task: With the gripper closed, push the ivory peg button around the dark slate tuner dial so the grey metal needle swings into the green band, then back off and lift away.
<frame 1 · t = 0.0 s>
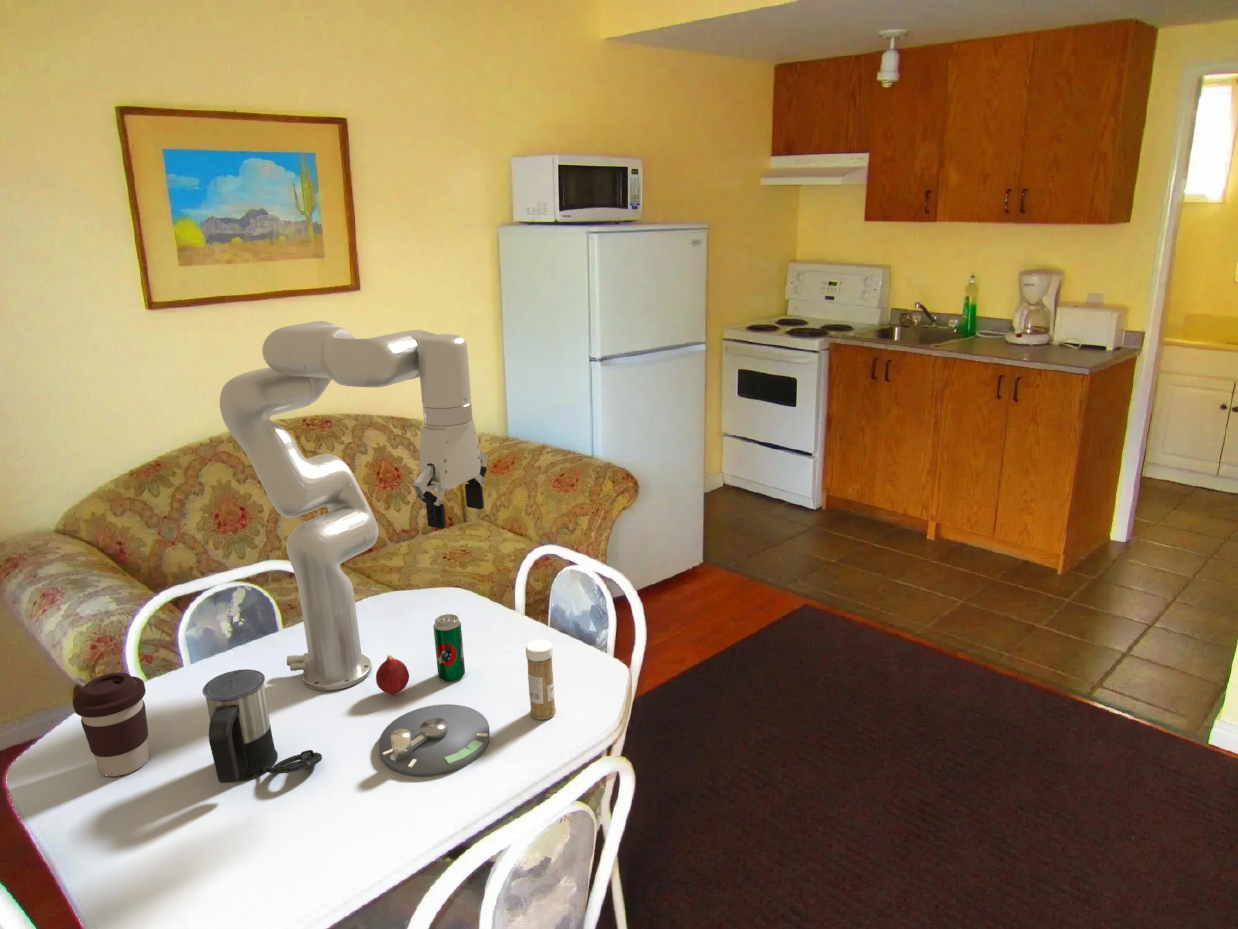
hand: (456, 517, 140), 37 cm above the table, tool pointing down, fingers open, 9 cm apart
needle: (418, 732, 140), point 4 cm above the table, hinge at -40.0°
onion: (394, 695, 159), on the table
dial: (435, 742, 144), on the table
coffee cup: (125, 765, 141), on the table
spice jar: (542, 714, 152), on the table
milk frother: (270, 768, 139), on the table
soda can: (451, 677, 164), on the table
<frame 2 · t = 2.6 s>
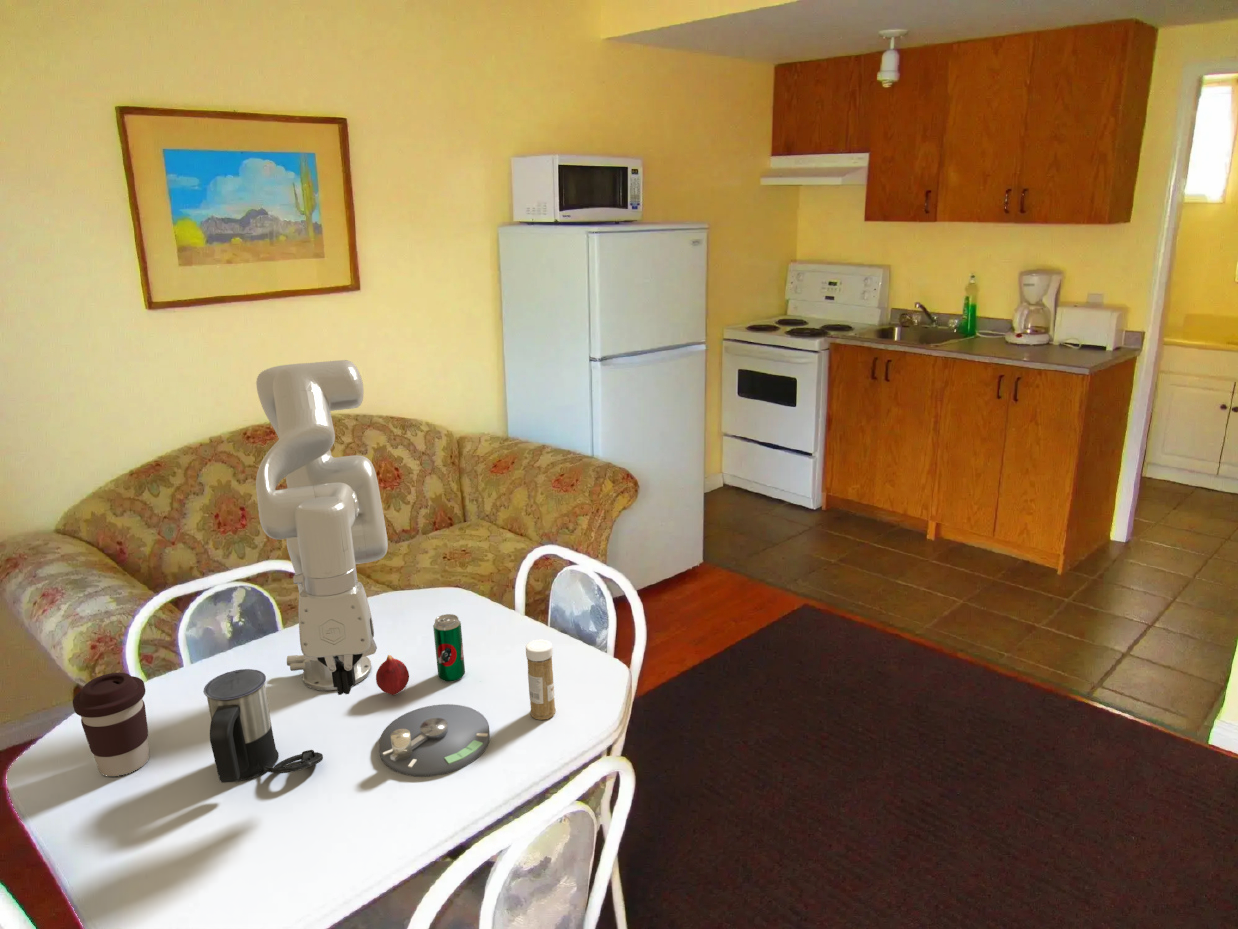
hand: (345, 689, 133), 15 cm above the table, tool pointing down, fingers closed
nothing on the table moved.
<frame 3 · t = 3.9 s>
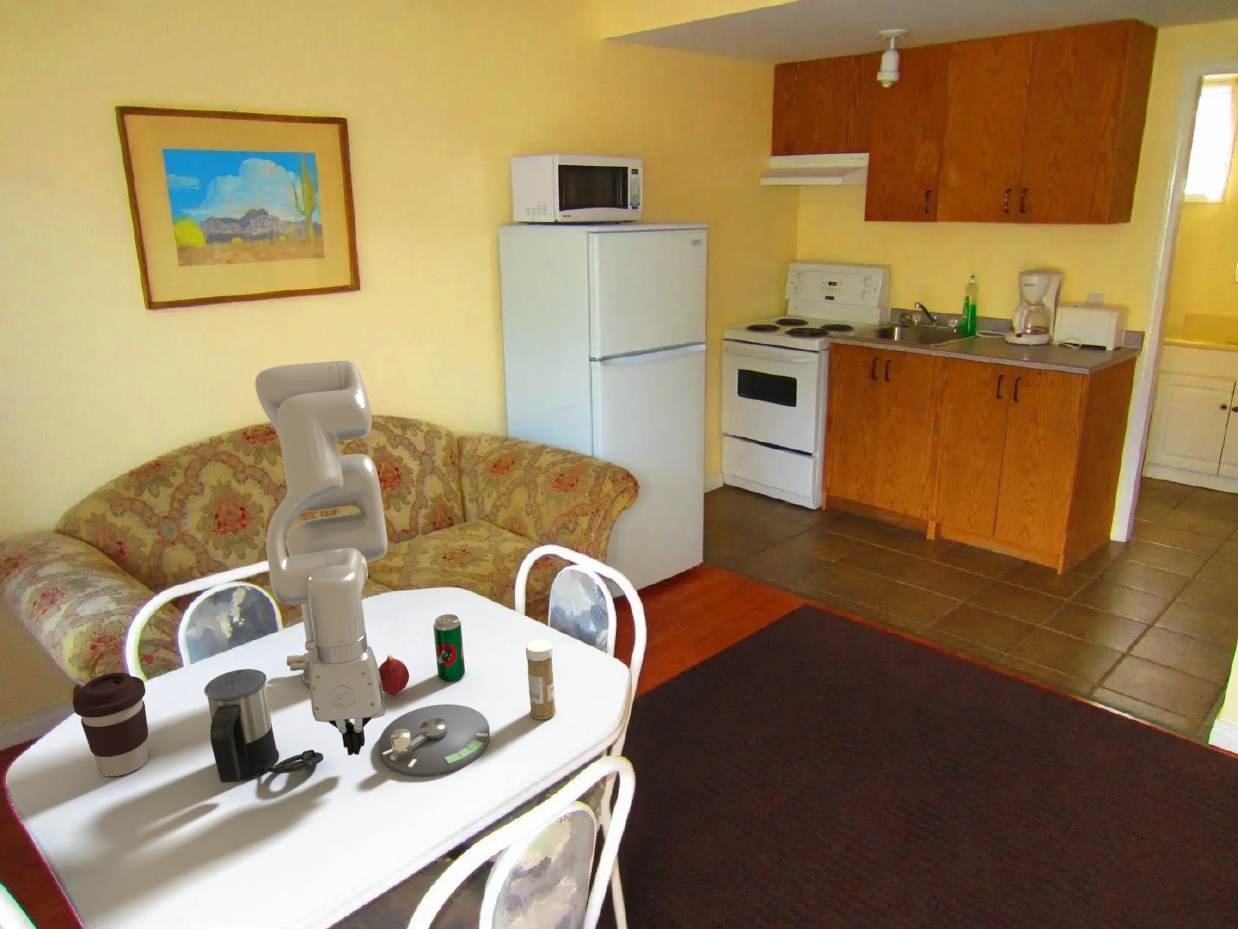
hand: (355, 749, 137), 4 cm above the table, tool pointing down, fingers closed
nothing on the table moved.
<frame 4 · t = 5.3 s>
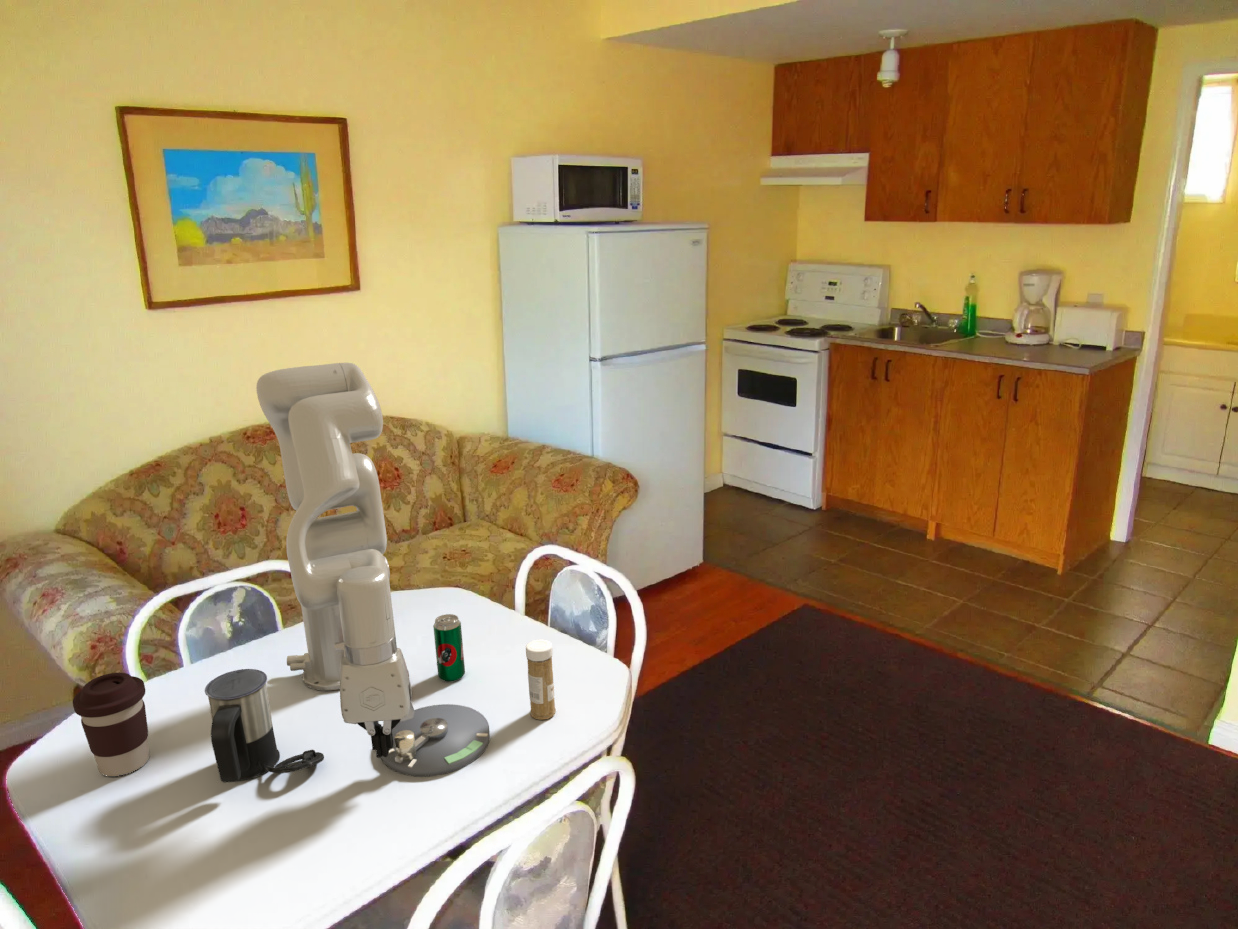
hand: (383, 752, 136), 4 cm above the table, tool pointing down, fingers closed
needle: (420, 733, 140), point 4 cm above the table, hinge at -33.2°, touching gripper
everything else where it was.
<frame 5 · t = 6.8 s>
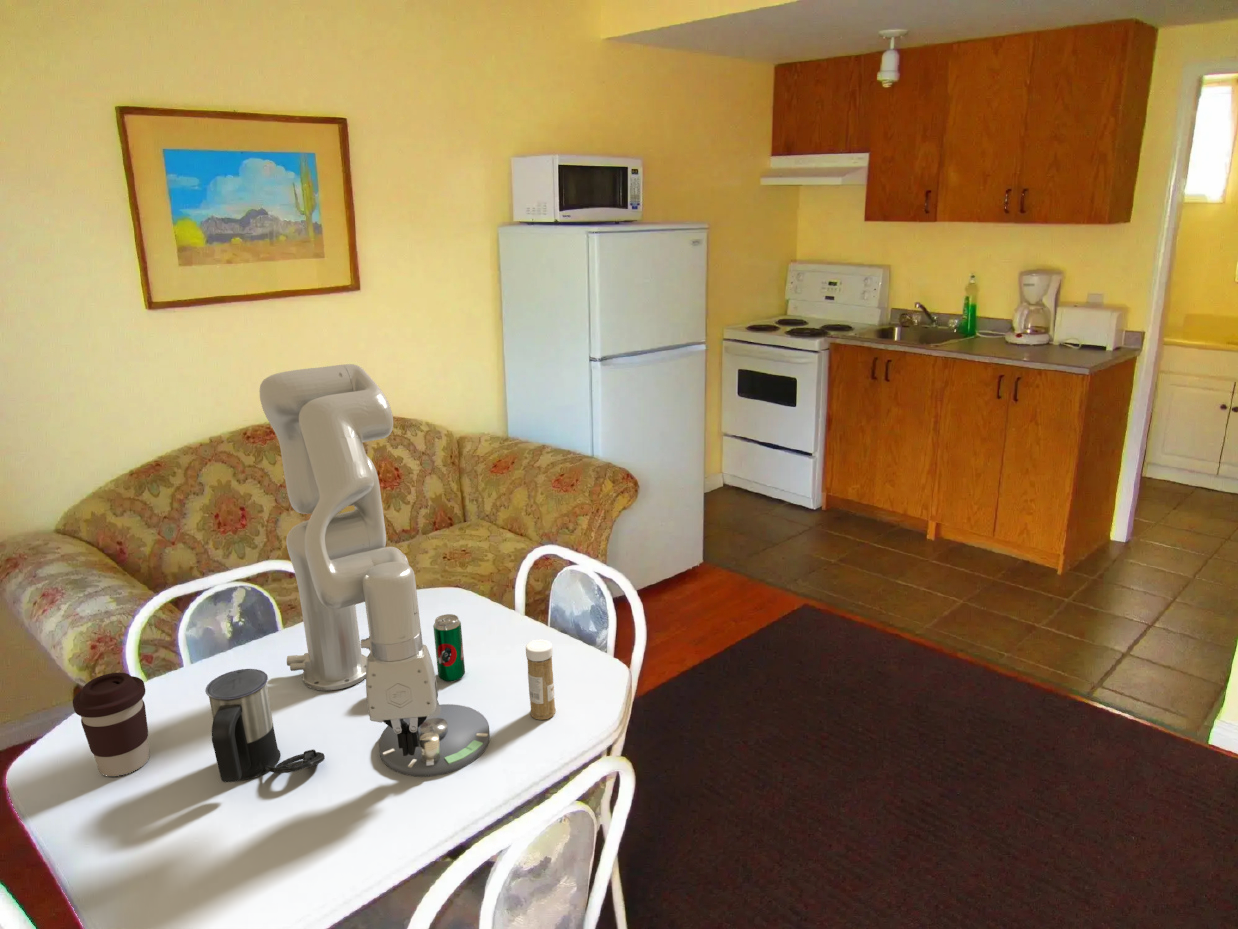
hand: (410, 750, 135), 4 cm above the table, tool pointing down, fingers closed
needle: (432, 734, 140), point 4 cm above the table, hinge at 1.6°, touching gripper
everything else where it was.
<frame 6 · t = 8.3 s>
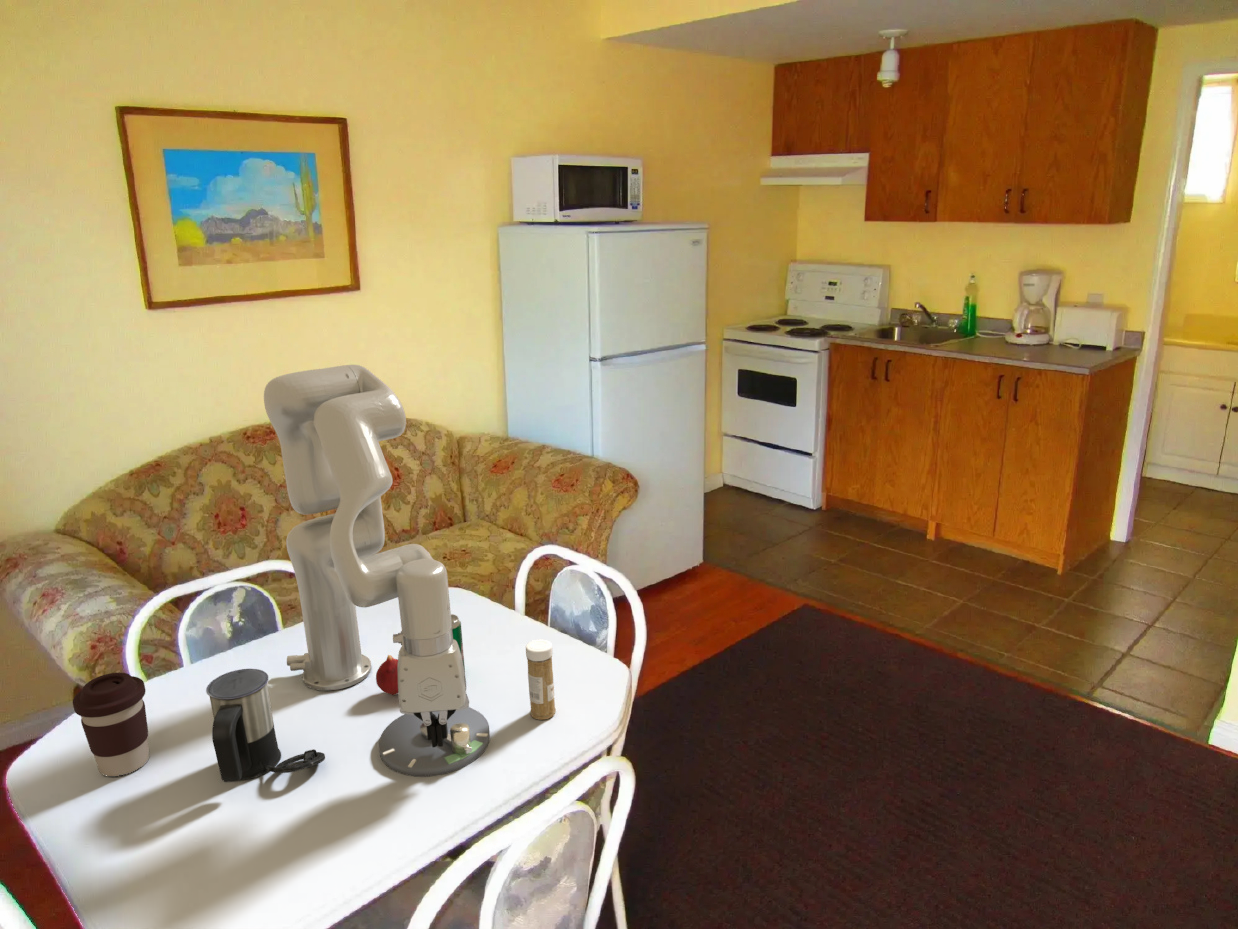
hand: (438, 741, 138), 4 cm above the table, tool pointing down, fingers closed
needle: (446, 730, 141), point 4 cm above the table, hinge at 43.1°
everything else where it was.
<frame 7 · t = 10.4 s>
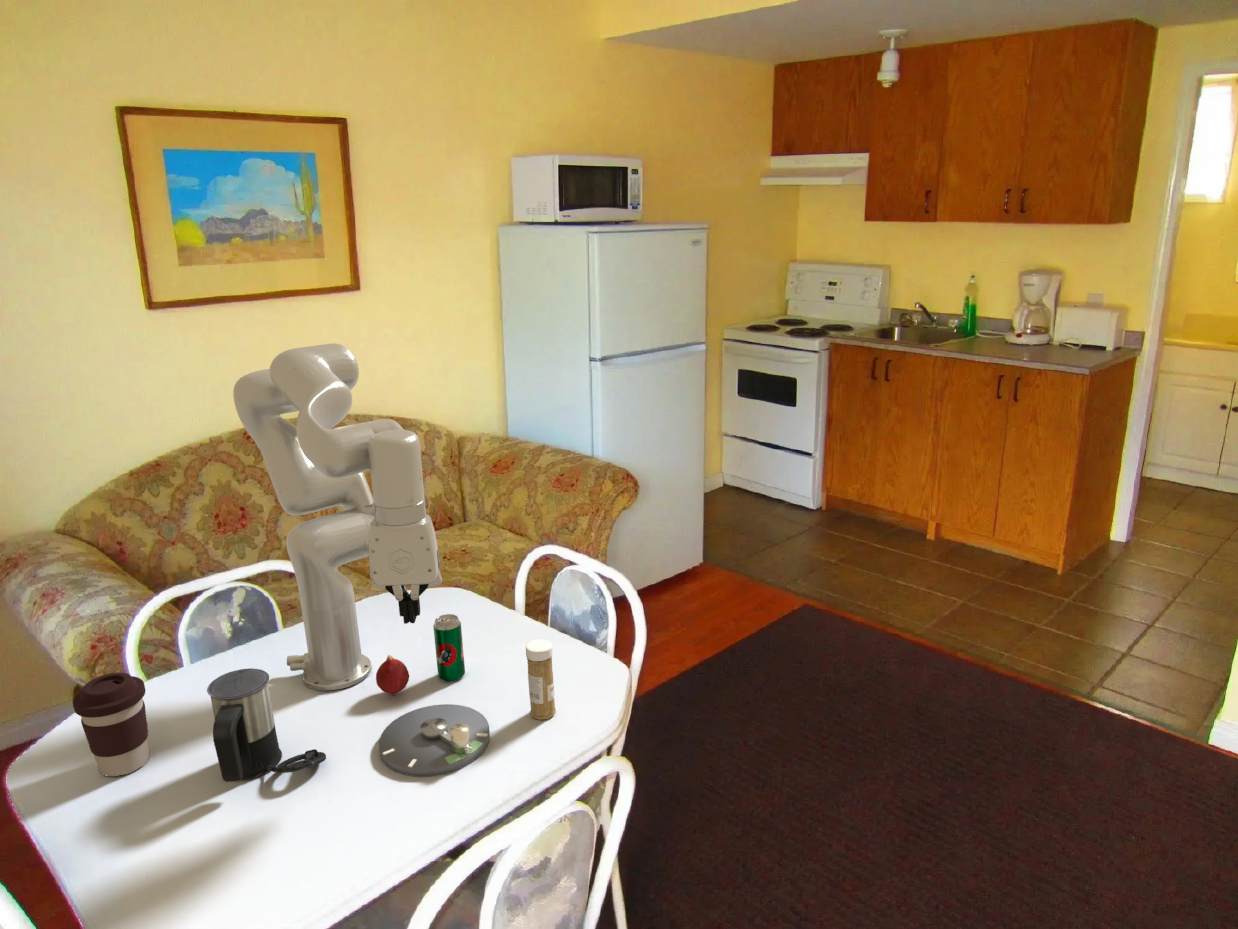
hand: (410, 619, 137), 23 cm above the table, tool pointing down, fingers closed
nothing on the table moved.
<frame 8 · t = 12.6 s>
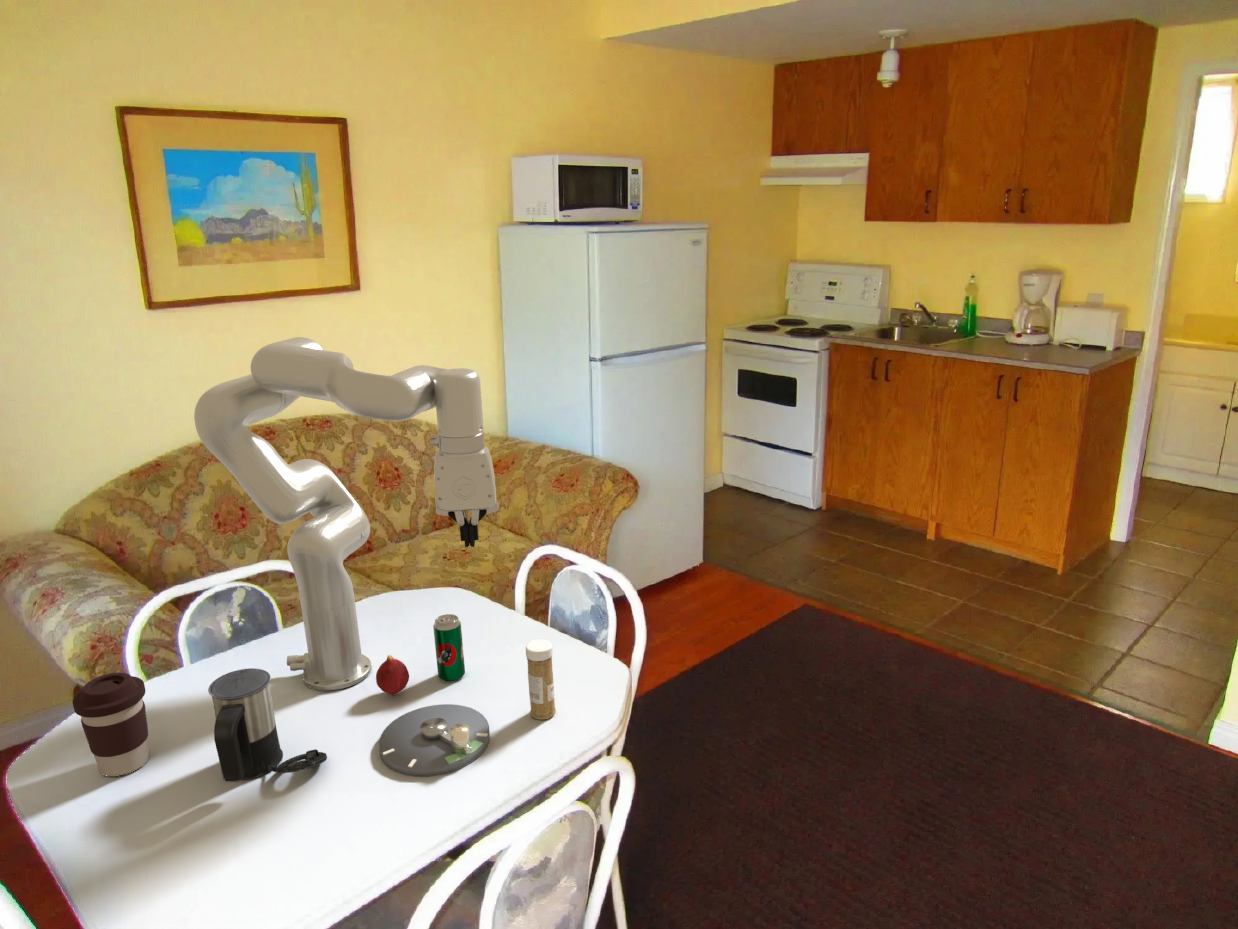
hand: (470, 544, 151), 29 cm above the table, tool pointing down, fingers closed
nothing on the table moved.
at the end: needle at +43° (first picture: -40°); needle touching nothing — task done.
